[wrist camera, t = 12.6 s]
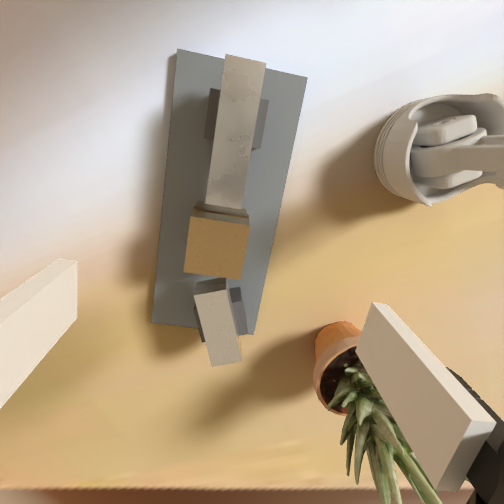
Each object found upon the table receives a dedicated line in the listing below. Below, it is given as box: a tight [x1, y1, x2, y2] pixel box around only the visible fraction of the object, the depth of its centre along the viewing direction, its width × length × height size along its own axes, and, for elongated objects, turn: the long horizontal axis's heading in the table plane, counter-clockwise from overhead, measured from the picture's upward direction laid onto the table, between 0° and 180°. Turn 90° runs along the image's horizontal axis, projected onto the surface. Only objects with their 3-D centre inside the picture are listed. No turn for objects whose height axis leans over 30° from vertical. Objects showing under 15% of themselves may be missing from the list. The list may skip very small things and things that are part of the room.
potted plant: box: [313, 322, 470, 504], centre depth 29 cm, size 10×10×25 cm
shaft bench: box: [151, 49, 307, 342], centre depth 32 cm, size 28×12×4 cm, turn 170°
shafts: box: [194, 54, 266, 367], centre depth 29 cm, size 27×6×3 cm, turn 170°
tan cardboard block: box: [183, 201, 250, 280], centre depth 31 cm, size 5×5×7 cm
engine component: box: [374, 94, 504, 207], centre depth 24 cm, size 11×20×10 cm
